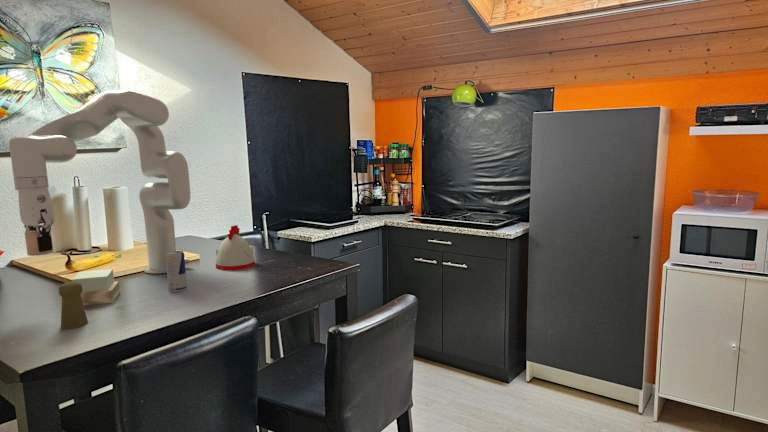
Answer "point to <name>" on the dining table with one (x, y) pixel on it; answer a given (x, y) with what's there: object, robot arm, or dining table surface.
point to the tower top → (95, 280)
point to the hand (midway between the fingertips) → (40, 248)
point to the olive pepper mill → (72, 306)
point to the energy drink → (176, 271)
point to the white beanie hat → (234, 252)
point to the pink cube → (34, 244)
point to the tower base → (101, 295)
